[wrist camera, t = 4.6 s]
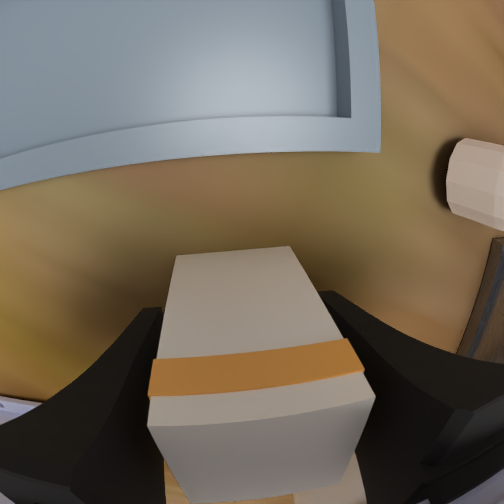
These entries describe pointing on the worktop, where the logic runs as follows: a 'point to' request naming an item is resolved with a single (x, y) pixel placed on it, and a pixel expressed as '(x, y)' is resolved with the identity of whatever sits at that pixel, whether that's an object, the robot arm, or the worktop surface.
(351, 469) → the lidded jar
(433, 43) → the worktop surface
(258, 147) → the tray
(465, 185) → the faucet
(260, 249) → the cartridge
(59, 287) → the worktop surface
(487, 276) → the block
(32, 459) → the robot arm
